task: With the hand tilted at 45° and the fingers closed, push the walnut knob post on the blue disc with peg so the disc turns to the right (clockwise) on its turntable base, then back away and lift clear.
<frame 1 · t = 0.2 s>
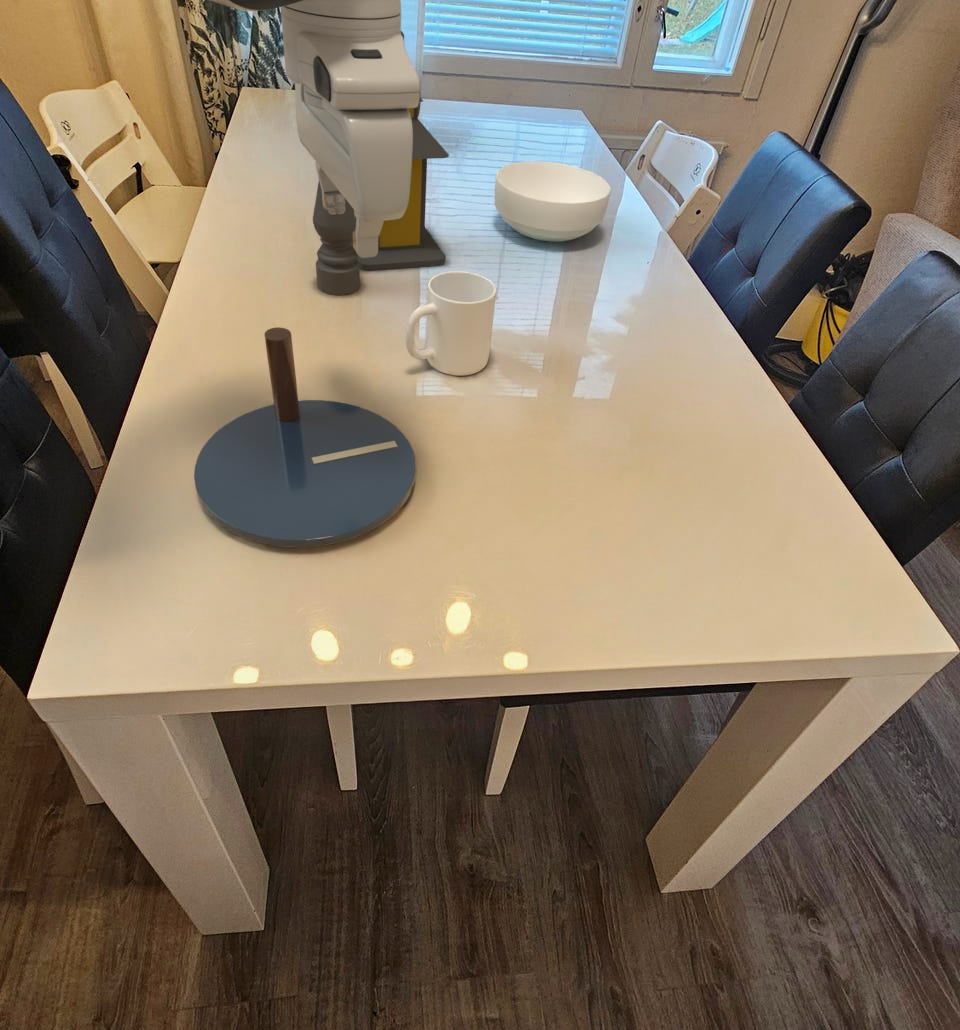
hand: (349, 231, 64), 23 cm above the table, tool pointing down, fingers open, 8 cm apart
decorative pumpkin: (373, 141, 152), on the table
cup: (445, 364, 91), on the table
blue disc with peg: (304, 427, 69), point 6 cm above the table, hinge at 0.0°
turntable base: (309, 476, 73), on the table
bowl: (545, 231, 125), on the table
lantern: (393, 250, 114), on the table
candle holder: (338, 286, 104), on the table
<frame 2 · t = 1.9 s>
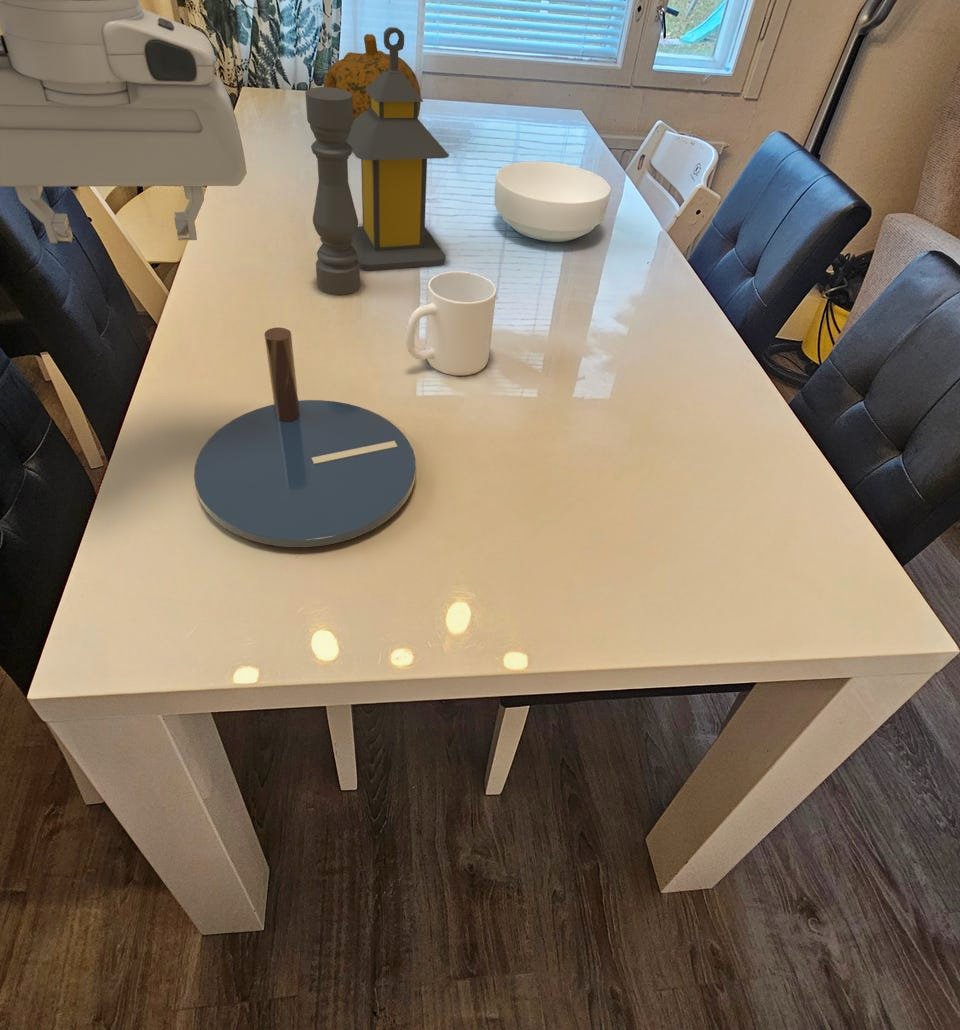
hand: (126, 239, 58), 23 cm above the table, tool pointing down, fingers open, 8 cm apart
nothing on the table moved.
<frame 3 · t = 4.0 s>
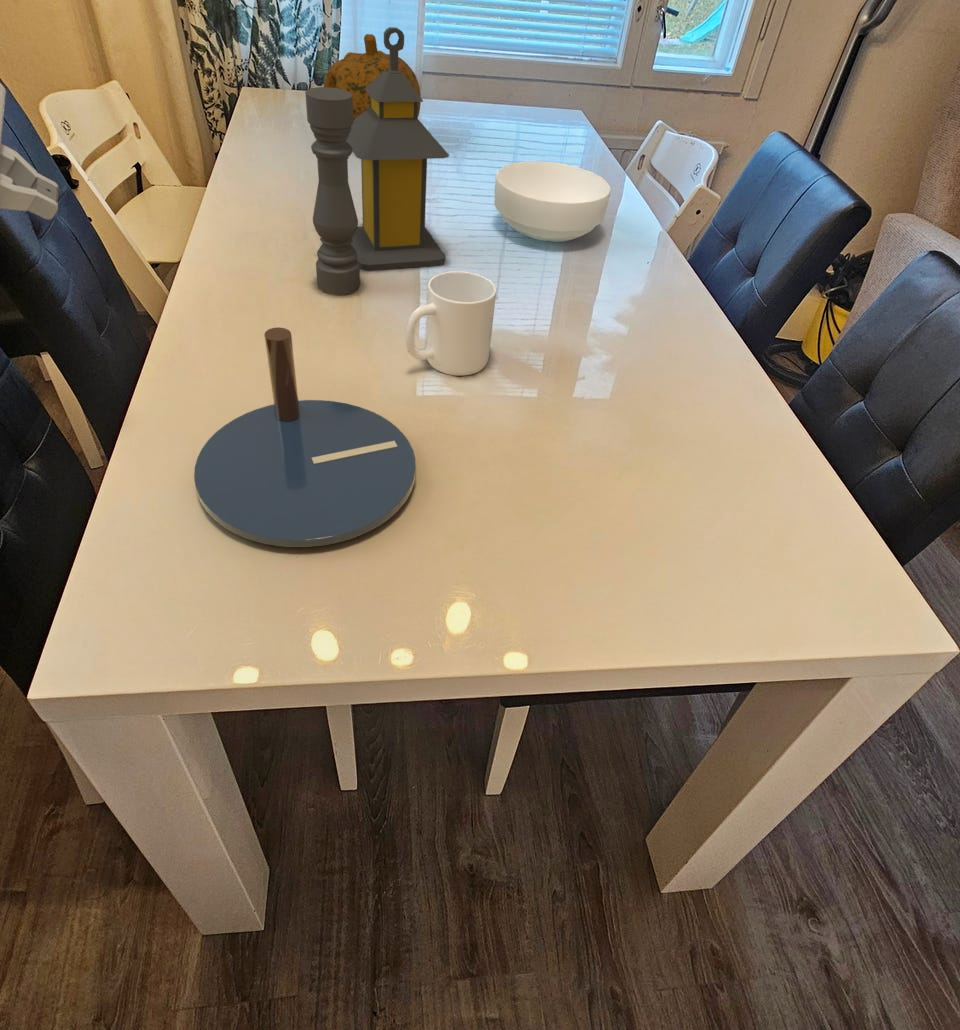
hand: (55, 203, 59), 24 cm above the table, tool tilted 50°, fingers closed
nothing on the table moved.
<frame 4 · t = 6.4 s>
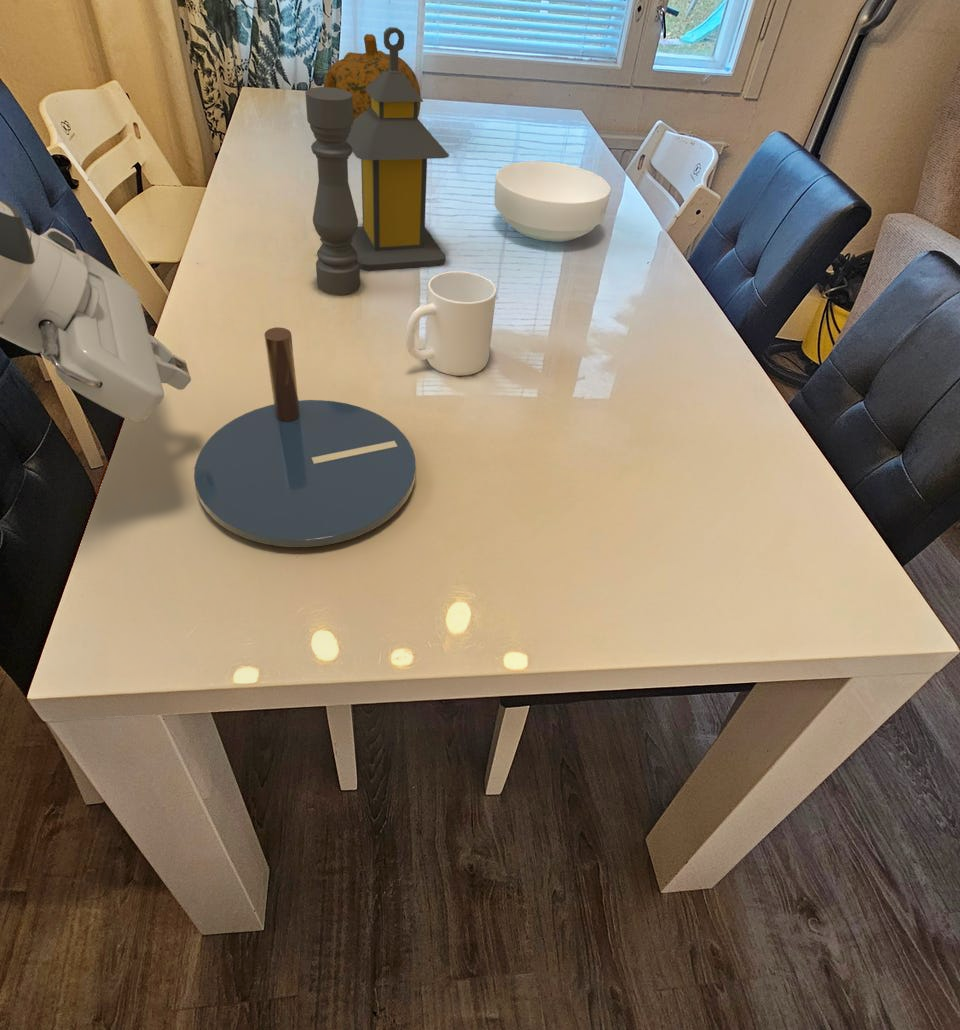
hand: (185, 377, 69), 9 cm above the table, tool tilted 45°, fingers closed
nothing on the table moved.
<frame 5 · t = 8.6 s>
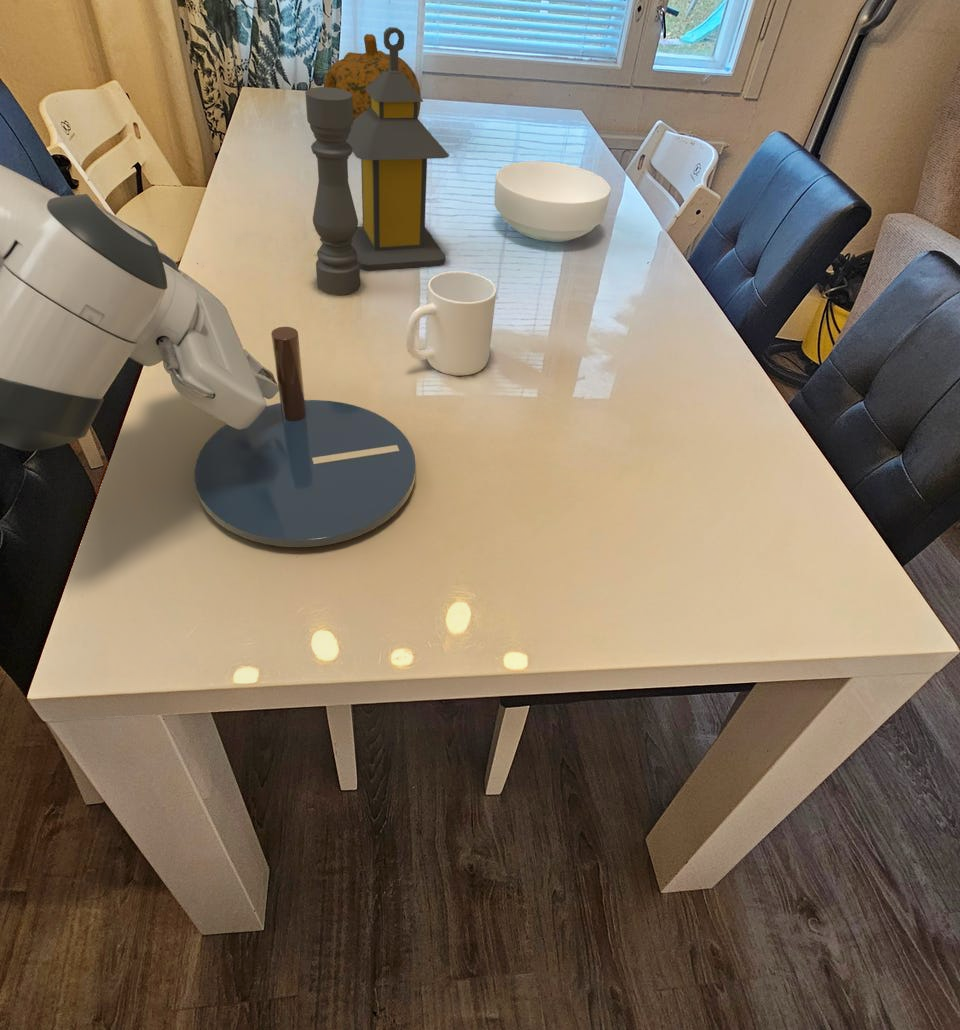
hand: (272, 386, 74), 6 cm above the table, tool tilted 45°, fingers closed, pressing on blue disc with peg
blue disc with peg: (304, 427, 69), point 6 cm above the table, hinge at -4.6°, touching gripper
everything else where it was.
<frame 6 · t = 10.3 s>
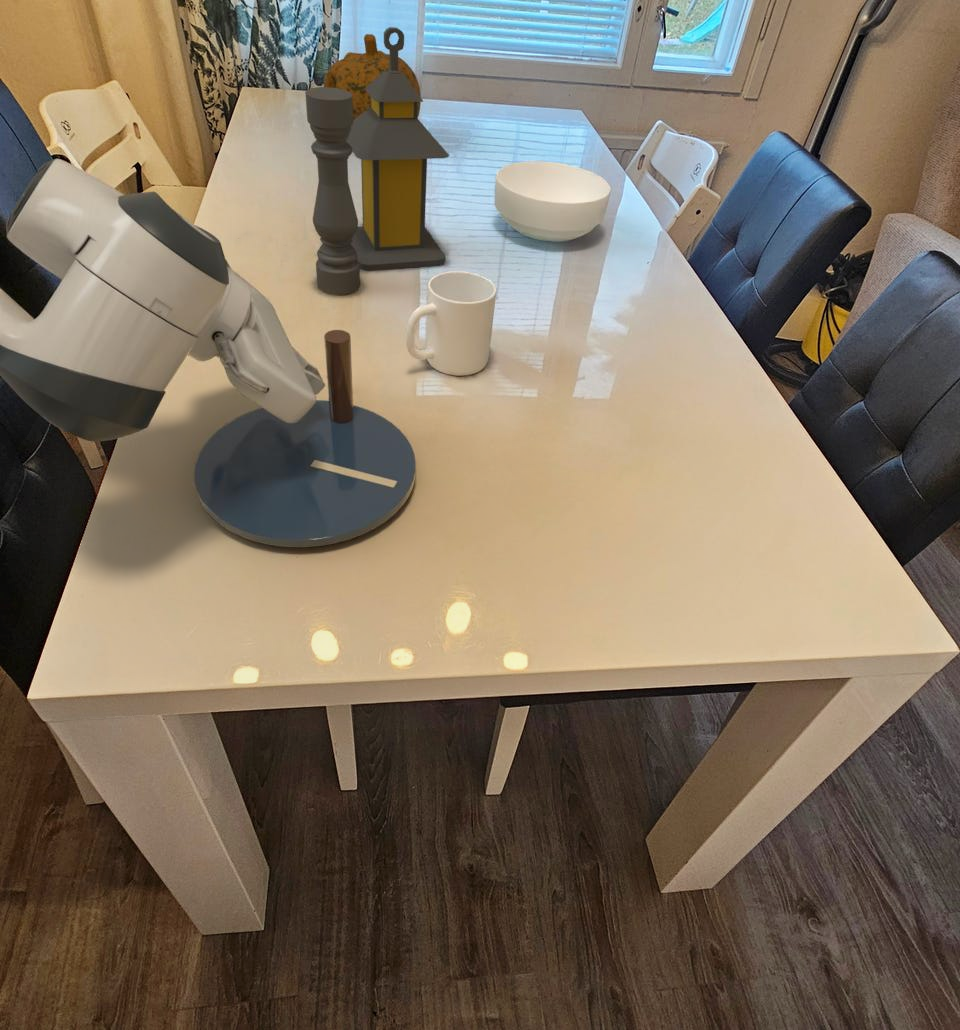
hand: (317, 383, 75), 6 cm above the table, tool tilted 45°, fingers closed
blue disc with peg: (304, 427, 69), point 6 cm above the table, hinge at -40.4°
everything else where it was.
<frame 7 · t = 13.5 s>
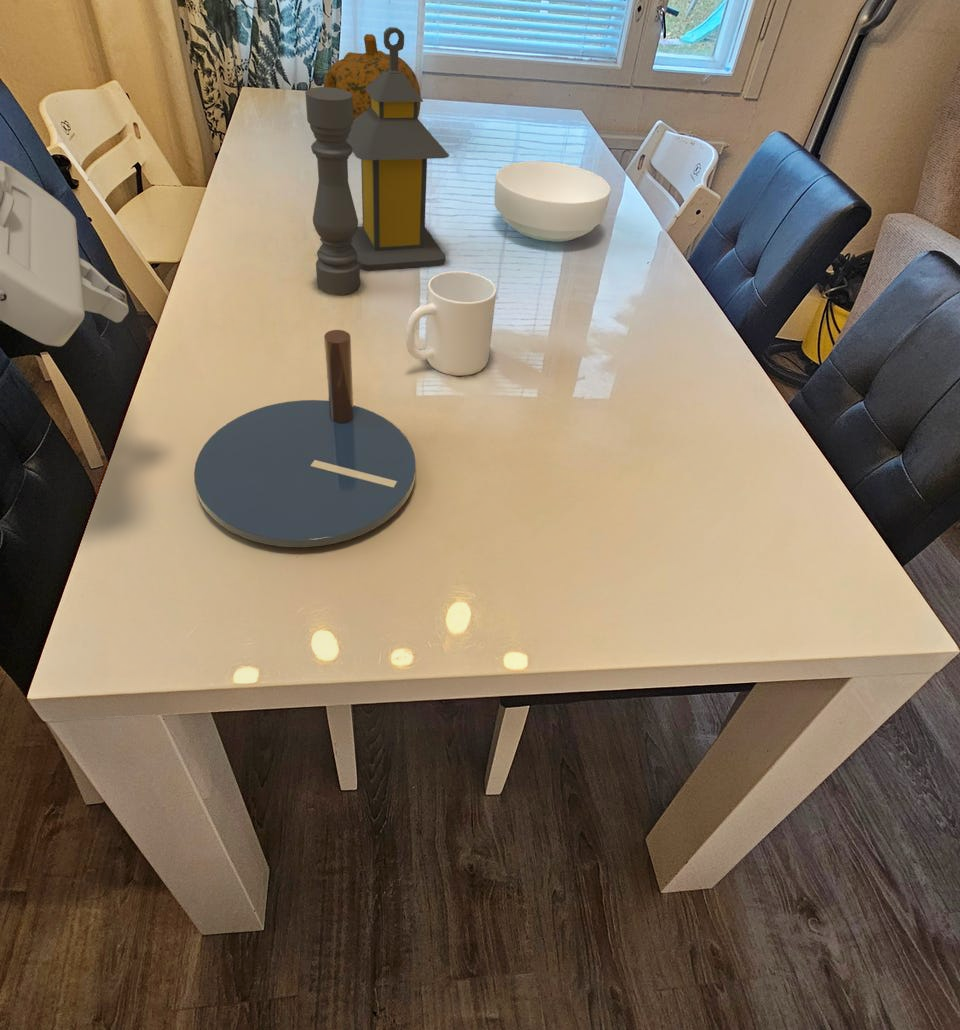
hand: (123, 309, 61), 17 cm above the table, tool tilted 45°, fingers closed
nothing on the table moved.
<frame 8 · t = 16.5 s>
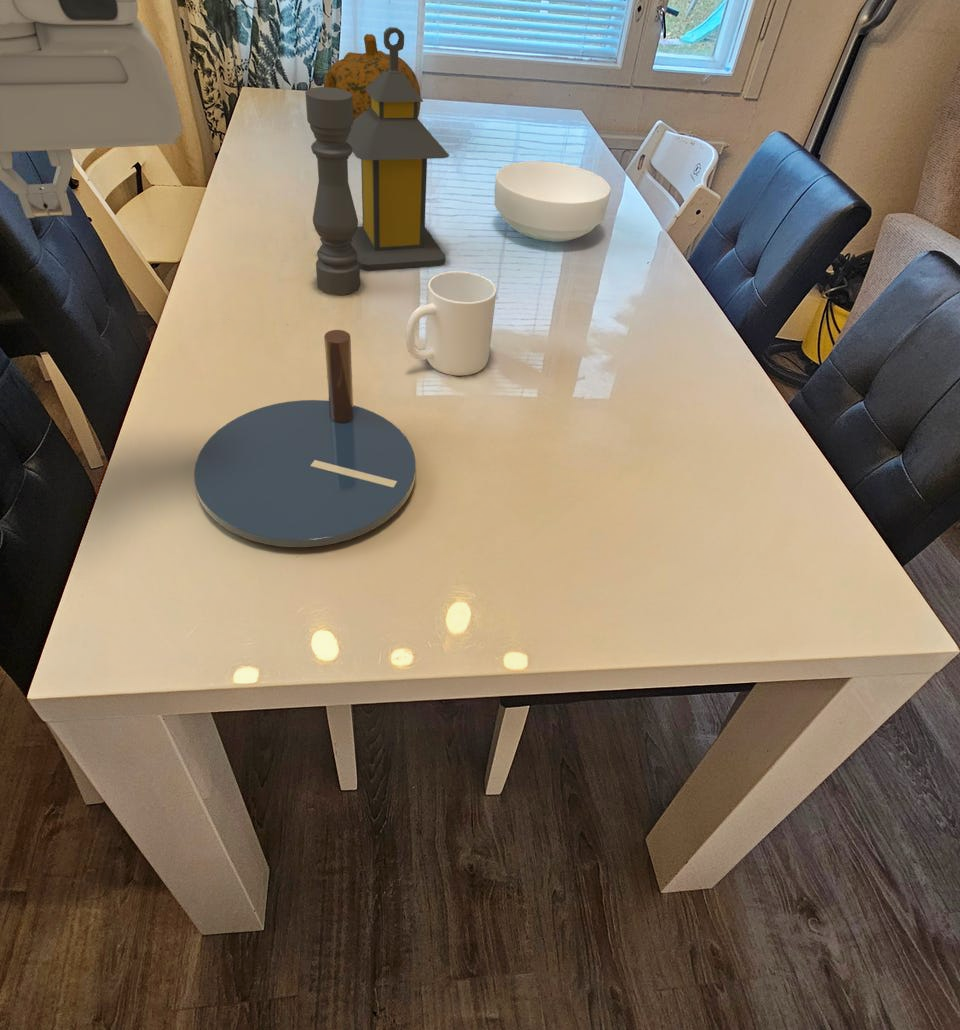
hand: (49, 214, 51), 27 cm above the table, tool pointing down, fingers closed
nothing on the table moved.
at the end: blue disc with peg at -40° (first picture: +0°); candle holder moved 0.2 cm from its start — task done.
